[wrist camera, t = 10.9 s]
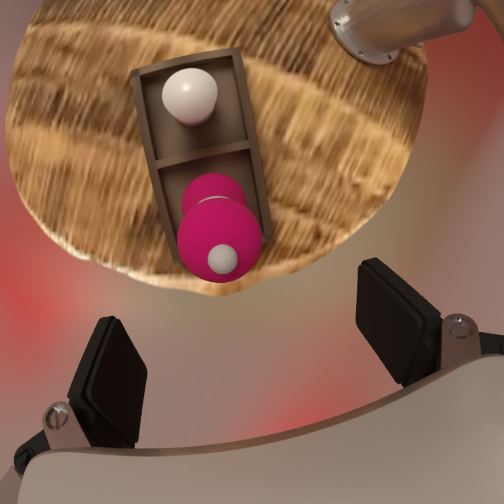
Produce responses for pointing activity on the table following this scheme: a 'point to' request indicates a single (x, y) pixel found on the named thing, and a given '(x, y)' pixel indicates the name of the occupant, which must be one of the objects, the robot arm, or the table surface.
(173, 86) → the salt shaker
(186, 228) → the pepper mill
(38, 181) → the table surface
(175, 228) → the walnut cruet tray
